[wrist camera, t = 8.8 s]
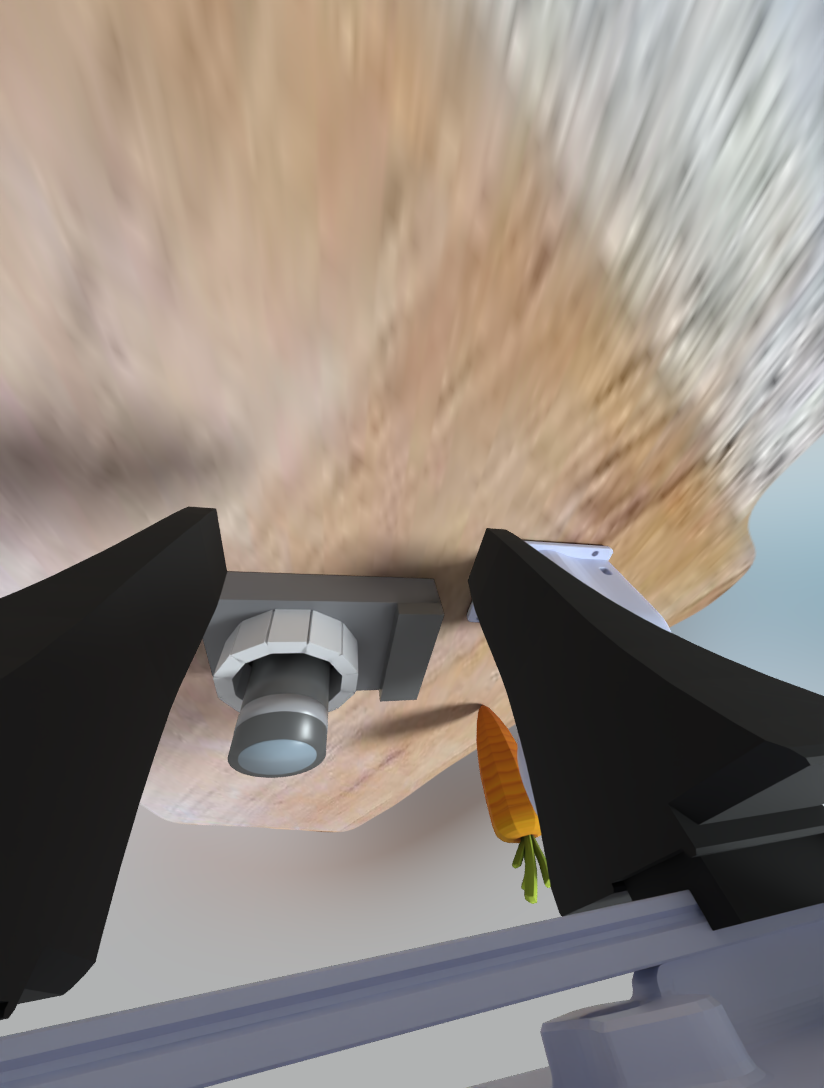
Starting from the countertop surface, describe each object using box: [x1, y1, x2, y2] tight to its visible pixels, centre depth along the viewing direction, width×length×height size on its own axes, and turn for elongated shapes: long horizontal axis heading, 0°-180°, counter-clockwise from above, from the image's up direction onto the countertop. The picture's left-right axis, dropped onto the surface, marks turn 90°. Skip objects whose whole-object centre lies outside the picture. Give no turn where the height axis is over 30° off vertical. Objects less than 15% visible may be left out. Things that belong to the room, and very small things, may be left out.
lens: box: [228, 653, 331, 778], centre depth 21 cm, size 5×5×6 cm
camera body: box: [203, 572, 444, 712], centre depth 24 cm, size 15×10×5 cm, turn 80°
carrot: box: [477, 705, 551, 904], centre depth 31 cm, size 5×5×15 cm
